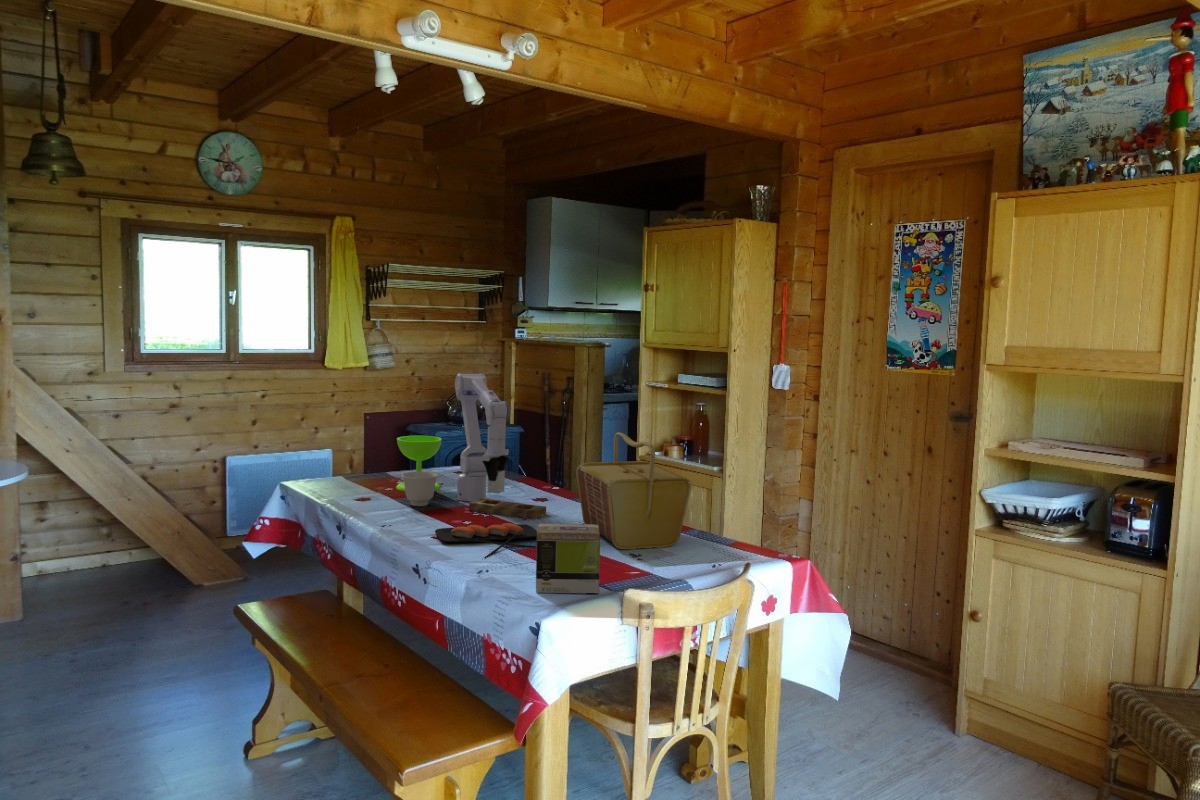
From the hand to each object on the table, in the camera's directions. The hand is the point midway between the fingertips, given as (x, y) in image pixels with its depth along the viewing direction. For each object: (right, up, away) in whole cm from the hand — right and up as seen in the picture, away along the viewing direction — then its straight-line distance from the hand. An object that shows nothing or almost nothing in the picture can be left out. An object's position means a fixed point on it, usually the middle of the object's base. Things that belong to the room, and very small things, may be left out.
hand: (495, 479), depth 284 cm
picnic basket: (+43, -15, -27) cm, 53 cm away
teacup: (-26, -9, +7) cm, 28 cm away
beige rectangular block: (0, -4, 0) cm, 4 cm away
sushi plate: (+4, -15, -39) cm, 42 cm away
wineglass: (-32, -6, +33) cm, 47 cm away
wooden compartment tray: (+4, -11, -1) cm, 11 cm away
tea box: (+26, -19, -76) cm, 83 cm away
